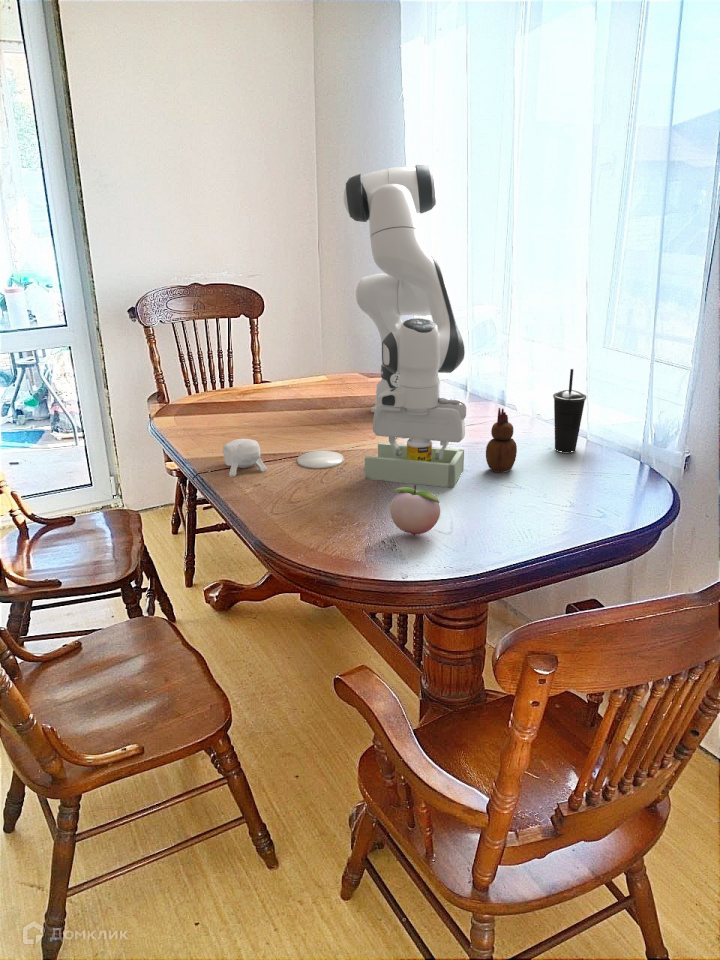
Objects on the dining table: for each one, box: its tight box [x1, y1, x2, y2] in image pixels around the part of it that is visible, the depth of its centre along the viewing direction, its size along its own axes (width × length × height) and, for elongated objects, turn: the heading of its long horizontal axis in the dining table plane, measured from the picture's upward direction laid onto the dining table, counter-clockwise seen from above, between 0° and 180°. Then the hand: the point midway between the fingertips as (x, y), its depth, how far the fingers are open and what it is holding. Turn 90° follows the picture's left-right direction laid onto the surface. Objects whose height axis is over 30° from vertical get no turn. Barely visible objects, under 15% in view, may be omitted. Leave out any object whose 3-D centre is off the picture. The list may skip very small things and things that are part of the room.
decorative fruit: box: [390, 484, 441, 536], centre depth 134 cm, size 9×8×10 cm
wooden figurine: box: [485, 407, 518, 473], centre depth 164 cm, size 7×6×15 cm
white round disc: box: [297, 450, 344, 470], centre depth 175 cm, size 11×11×1 cm
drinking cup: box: [552, 368, 587, 452], centre depth 175 cm, size 8×8×20 cm
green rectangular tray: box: [364, 442, 465, 489], centre depth 164 cm, size 11×20×5 cm, turn 71°
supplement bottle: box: [406, 438, 433, 462], centre depth 163 cm, size 6×6×10 cm
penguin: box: [222, 438, 268, 478], centre depth 168 cm, size 9×8×15 cm
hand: (418, 457), depth 163 cm, fingers open, 8 cm apart
